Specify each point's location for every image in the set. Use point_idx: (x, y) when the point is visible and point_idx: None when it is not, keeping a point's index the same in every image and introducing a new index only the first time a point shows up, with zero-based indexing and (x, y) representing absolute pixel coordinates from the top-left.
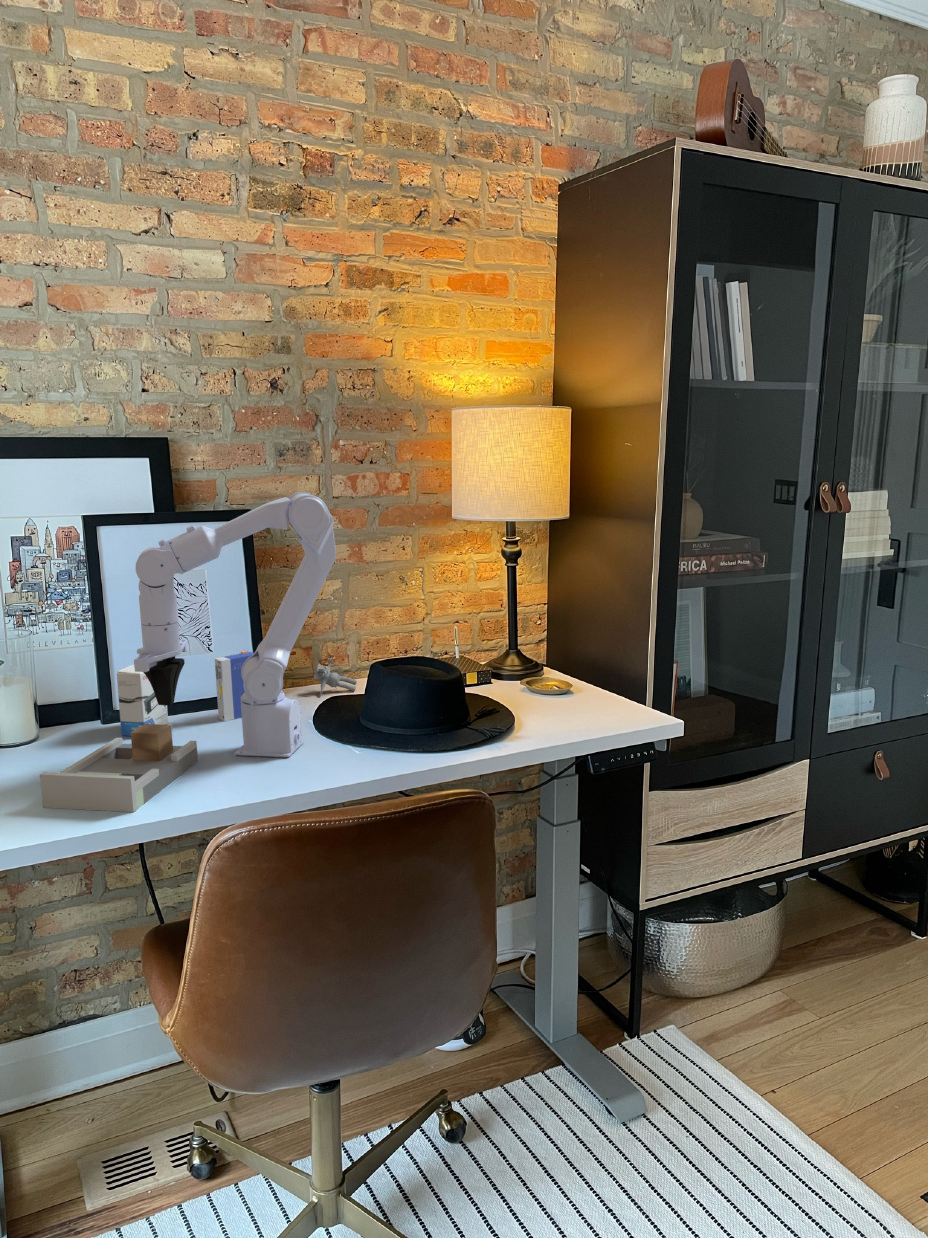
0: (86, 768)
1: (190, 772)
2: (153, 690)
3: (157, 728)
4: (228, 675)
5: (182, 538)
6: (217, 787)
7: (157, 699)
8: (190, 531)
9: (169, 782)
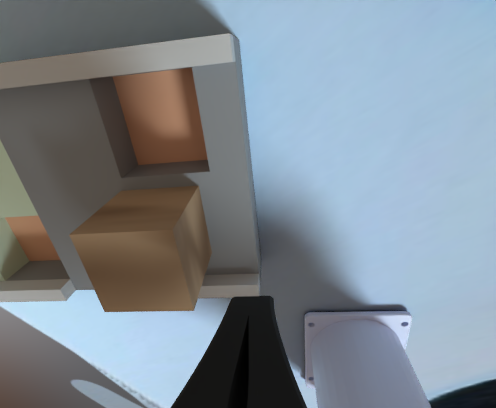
0: (5, 98)
1: None
2: (202, 360)
3: (144, 291)
4: None
5: None
6: (153, 335)
7: (225, 319)
8: None
9: None
